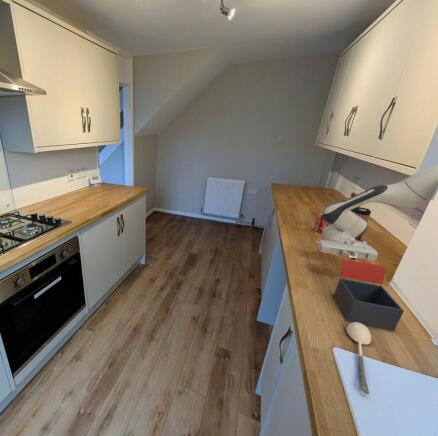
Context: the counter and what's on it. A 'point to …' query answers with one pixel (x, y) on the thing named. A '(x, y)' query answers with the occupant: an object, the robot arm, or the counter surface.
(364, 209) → the travel mug
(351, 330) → the beige and grey spoon
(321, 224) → the soda can
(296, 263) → the counter surface
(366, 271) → the lid
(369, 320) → the carton
